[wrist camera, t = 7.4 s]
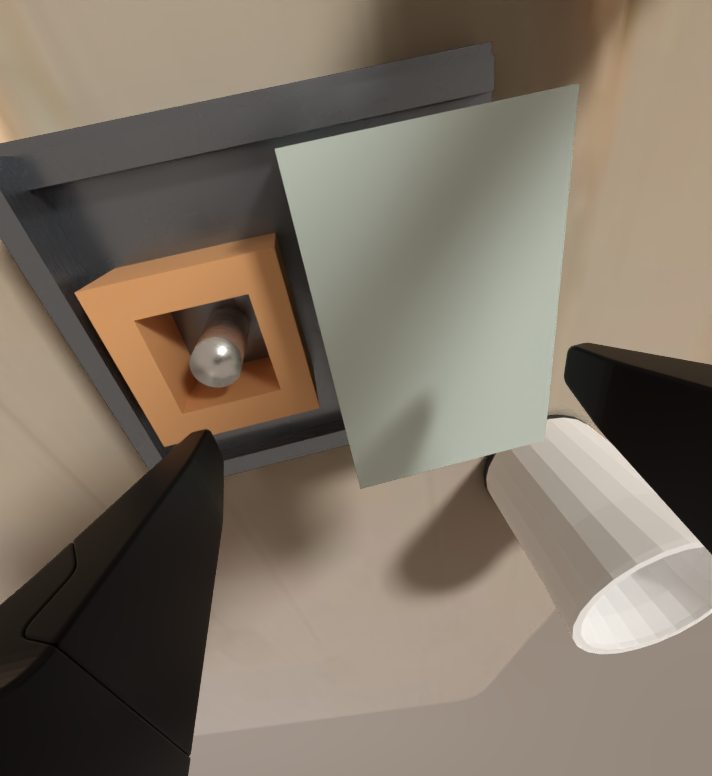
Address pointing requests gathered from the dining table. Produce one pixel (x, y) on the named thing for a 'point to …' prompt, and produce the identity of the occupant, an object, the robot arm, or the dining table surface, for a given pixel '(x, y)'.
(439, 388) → the housing cover
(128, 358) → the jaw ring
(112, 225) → the housing base
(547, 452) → the mug
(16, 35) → the dining table surface
